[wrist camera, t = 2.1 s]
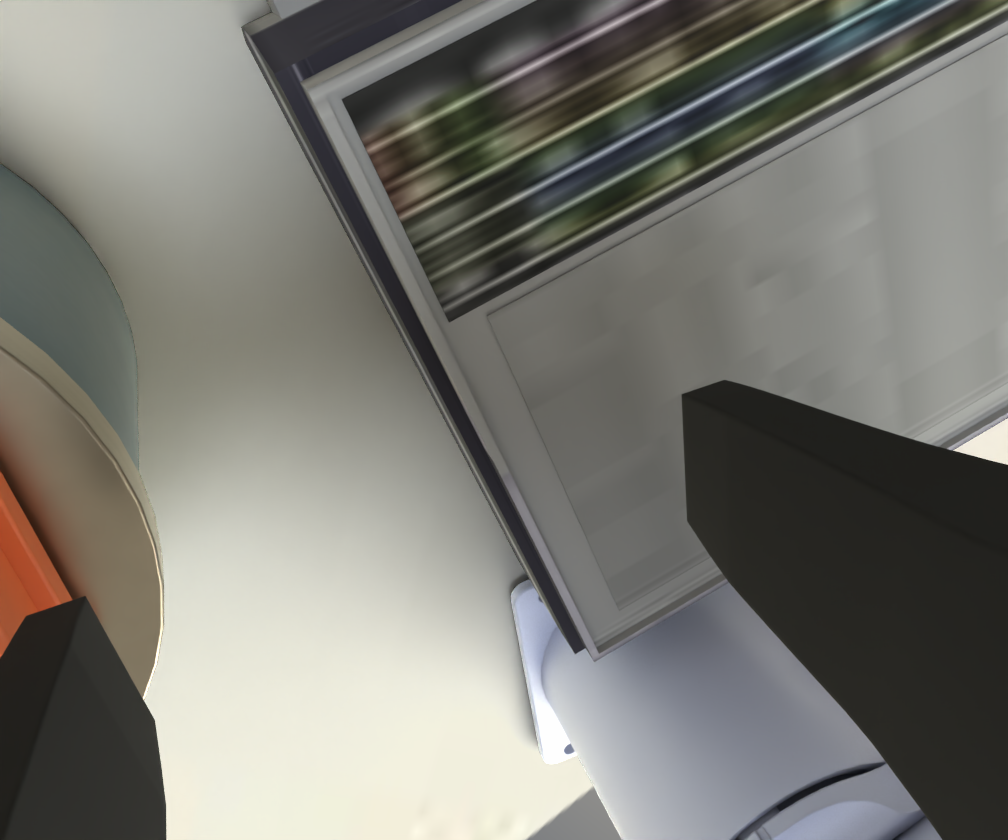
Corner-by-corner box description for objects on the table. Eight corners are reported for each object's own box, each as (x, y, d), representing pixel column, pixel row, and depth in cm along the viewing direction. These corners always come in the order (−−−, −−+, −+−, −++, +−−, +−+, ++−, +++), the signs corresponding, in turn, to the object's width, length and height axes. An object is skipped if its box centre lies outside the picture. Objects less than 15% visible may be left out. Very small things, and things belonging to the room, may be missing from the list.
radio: (606, 708, 21) (95, -284, 10) (526, 575, 26) (105, -224, 14) (1393, 239, 24) (1725, -1016, 12) (1198, 188, 28) (1306, -773, 16)
